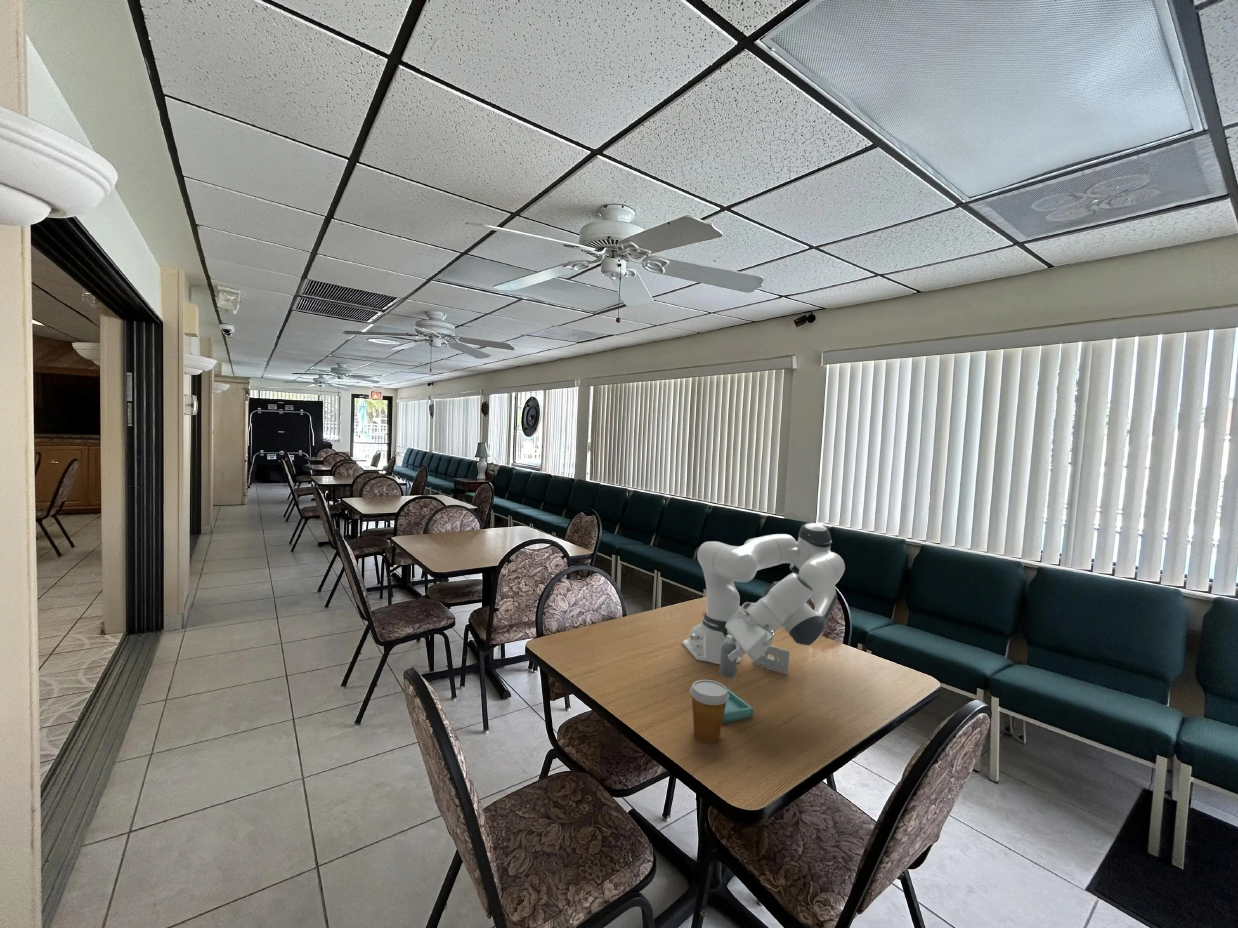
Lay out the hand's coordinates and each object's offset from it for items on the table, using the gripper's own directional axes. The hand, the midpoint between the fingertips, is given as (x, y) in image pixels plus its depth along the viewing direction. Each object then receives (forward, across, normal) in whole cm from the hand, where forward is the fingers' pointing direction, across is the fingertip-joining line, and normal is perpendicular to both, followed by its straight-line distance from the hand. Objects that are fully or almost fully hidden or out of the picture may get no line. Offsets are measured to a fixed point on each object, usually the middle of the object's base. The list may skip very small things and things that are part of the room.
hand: (725, 653), depth 137 cm
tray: (+10, 0, -11) cm, 15 cm away
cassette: (-6, +26, -28) cm, 39 cm away
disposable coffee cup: (+16, -13, -6) cm, 21 cm away
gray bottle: (+3, 0, -4) cm, 5 cm away
